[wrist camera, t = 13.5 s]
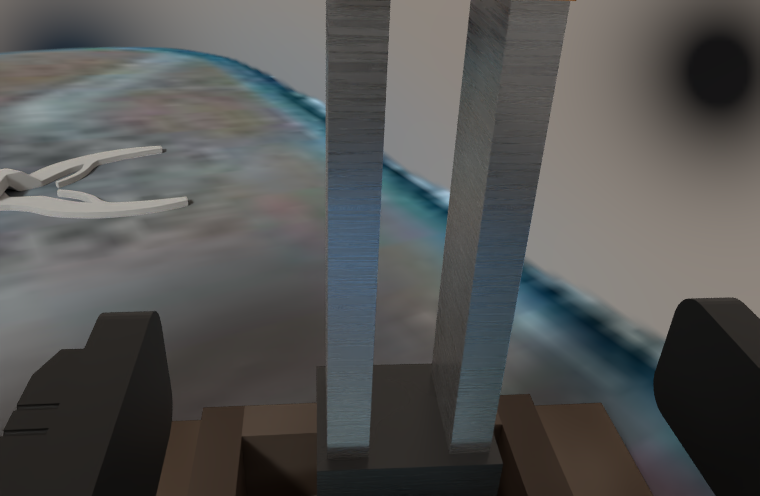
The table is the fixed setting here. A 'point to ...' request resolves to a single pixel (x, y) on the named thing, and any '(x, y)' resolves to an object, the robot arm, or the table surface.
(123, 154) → the pliers
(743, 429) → the robot arm
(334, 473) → the tongs
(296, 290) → the table surface
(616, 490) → the stand
